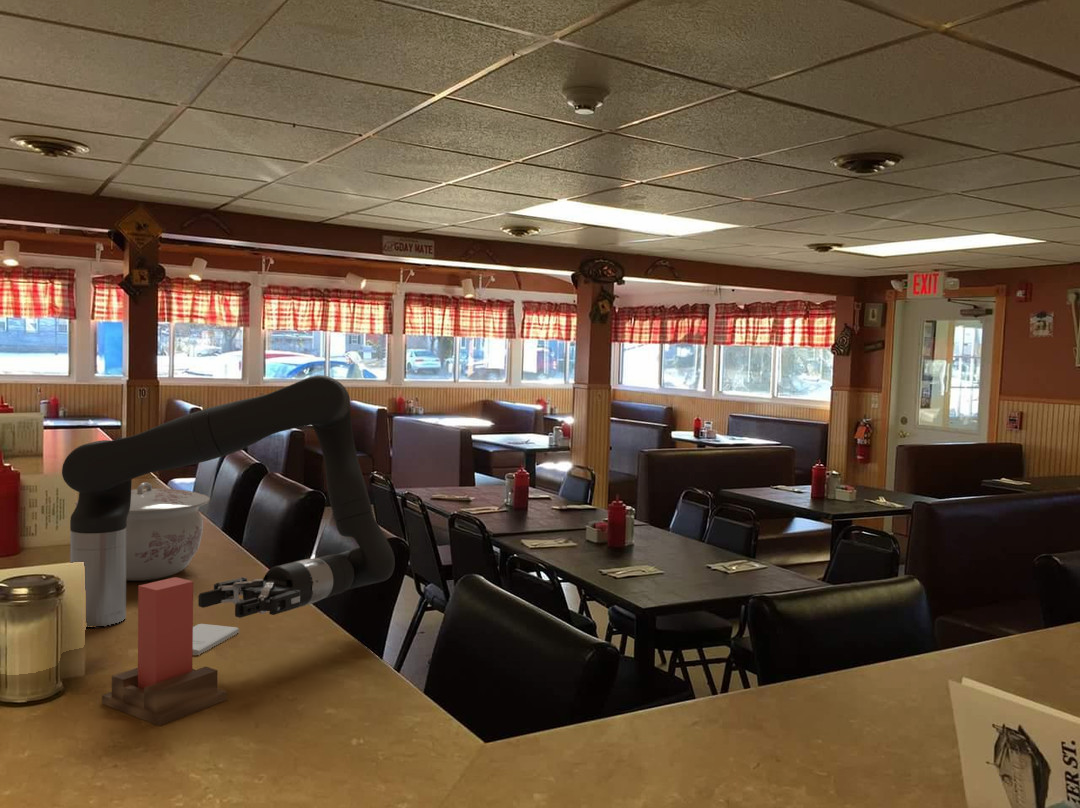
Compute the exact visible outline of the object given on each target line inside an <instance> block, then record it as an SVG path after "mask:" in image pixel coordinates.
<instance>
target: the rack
mask: <svg viewBox="0 0 1080 808" xmlns="http://www.w3.org/2000/svg"><path fill="white" fill-rule="evenodd" d="M218 672H219V671H218V669H215V668H212V667H209V666H203V667H200V668H197V669H194V668H192V671H191V672H188V673H185V674H182V675H179V676H176V677H173V678H170V679H167V680H164V681H162V682H159V683H156V684H153V685H150V686H147V687H144V690H143V689H140V688H138V667H135V668H131V669H129V670H125V671H123V672H120V673H116V674H113V675H111V692H107V693H104V694H102V696H101V704H102V705H105V706H107V707H110V708H113V709H115V710H117V711H120V712H123V713H125V714H128V715H130V716H133V717H136V718H138V719H141V720H143V721H145V722H148V723H151V724H153V725H156V726H159V727H161V726H163V725H166V724H168V723H171V722H173V721H176V720H178V719H181V718H184V717H186V716H189V715H192V714H194V713H197V712H199V711H201V710H204V709H206V708H209V707H212V706H214V705H218V704H219V702H220V703H222V702H225V701H227V700H228V691H226V690H223V689H220V688H218Z"/></svg>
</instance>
